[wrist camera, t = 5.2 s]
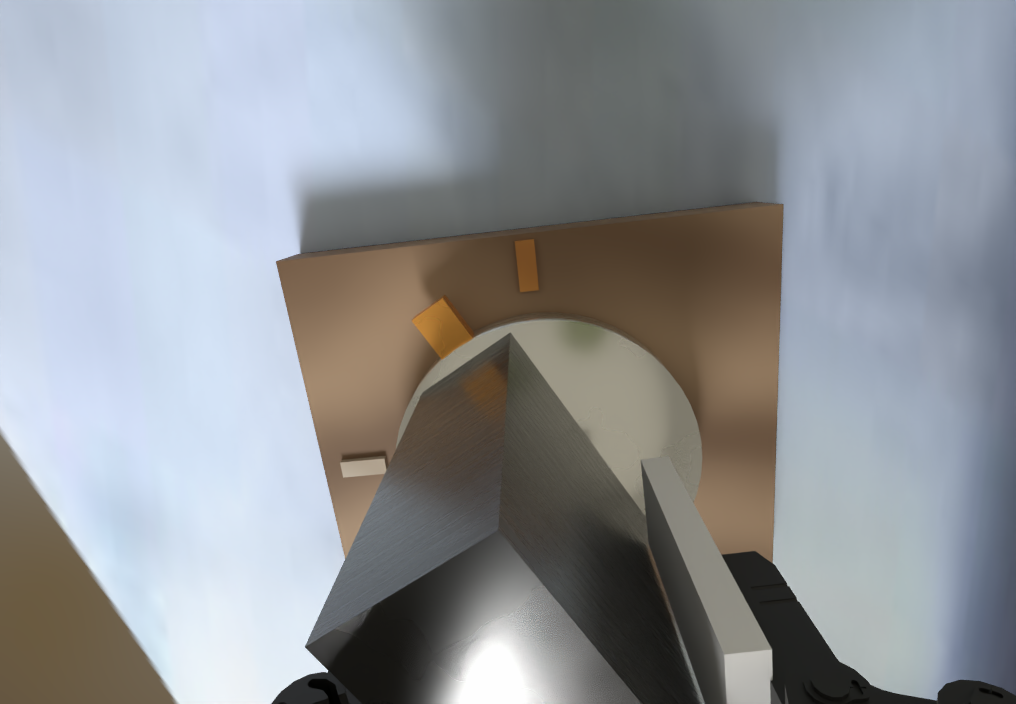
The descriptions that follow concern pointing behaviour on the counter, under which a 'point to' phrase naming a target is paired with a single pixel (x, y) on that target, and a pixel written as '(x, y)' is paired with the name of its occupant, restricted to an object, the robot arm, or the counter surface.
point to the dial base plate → (562, 289)
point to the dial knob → (518, 526)
